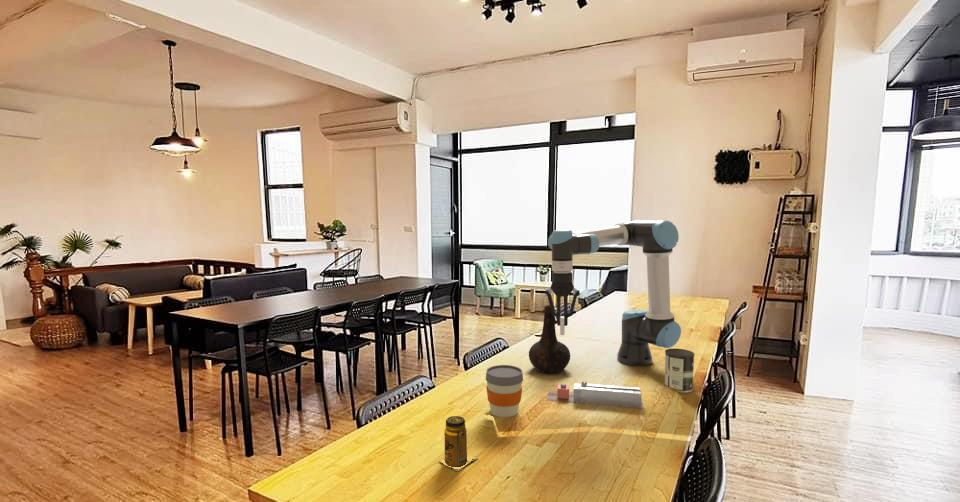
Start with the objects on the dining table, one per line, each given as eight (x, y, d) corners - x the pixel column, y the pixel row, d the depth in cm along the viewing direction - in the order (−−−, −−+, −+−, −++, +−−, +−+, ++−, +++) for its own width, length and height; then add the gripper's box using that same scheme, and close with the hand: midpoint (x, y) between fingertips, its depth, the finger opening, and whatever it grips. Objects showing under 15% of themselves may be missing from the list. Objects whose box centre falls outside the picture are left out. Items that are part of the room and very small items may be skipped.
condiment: (438, 462, 122) (437, 420, 121) (459, 450, 129) (458, 409, 128) (457, 472, 118) (457, 428, 117) (478, 459, 124) (478, 417, 123)
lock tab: (558, 393, 165) (558, 382, 164) (569, 394, 164) (569, 383, 164) (557, 397, 161) (557, 386, 161) (568, 398, 160) (568, 387, 160)
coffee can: (689, 383, 178) (690, 348, 177) (696, 393, 168) (697, 357, 167) (661, 381, 180) (662, 347, 179) (667, 391, 170) (668, 355, 169)
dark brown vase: (552, 380, 182) (552, 312, 180) (520, 369, 195) (520, 305, 193) (578, 370, 194) (579, 306, 191) (546, 360, 207) (547, 300, 205)
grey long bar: (573, 396, 163) (574, 383, 162) (639, 402, 158) (639, 388, 157) (573, 402, 158) (573, 388, 157) (641, 408, 153) (641, 394, 152)
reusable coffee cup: (526, 409, 155) (527, 366, 154) (517, 425, 144) (517, 379, 142) (492, 404, 159) (492, 363, 158) (480, 419, 148) (480, 375, 146)
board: (548, 393, 169) (548, 390, 169) (641, 401, 161) (641, 398, 161) (546, 403, 160) (546, 400, 160) (644, 412, 152) (644, 409, 152)
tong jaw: (581, 396, 162) (581, 381, 161) (639, 401, 158) (639, 385, 157) (581, 399, 160) (581, 383, 159) (640, 403, 156) (640, 387, 155)
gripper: (543, 272, 164) (543, 336, 166) (580, 273, 161) (580, 337, 163) (545, 270, 171) (545, 330, 173) (580, 270, 168) (580, 332, 170)
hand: (562, 334), depth 168 cm, fingers closed
